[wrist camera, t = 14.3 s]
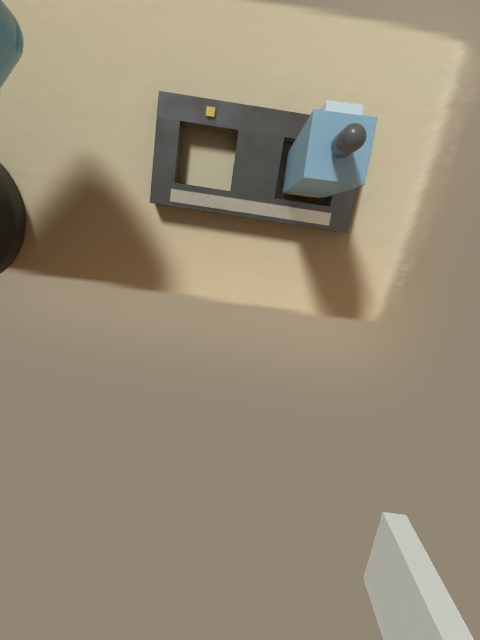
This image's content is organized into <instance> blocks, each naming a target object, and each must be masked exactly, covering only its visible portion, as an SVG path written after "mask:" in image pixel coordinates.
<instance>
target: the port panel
mask: <svg viewBox="0 0 480 640" xmlns="http://www.w3.org/2000/svg"><path fill="white" fill-rule="evenodd" d="M309 117H310V115H307V114H301V113H294V112H288V111H282V110H276V109H269V108H263V107H257V106H250V105H244V104H238V103H232V102H225V101H219V100H213V99H206V98H200V97H194V96H188V95H181V94H175V93H169V92H162V91H159V97H158V109H157V121H156V134H155V146H154V158H153V171H152V183H151V195H150V203H155V204H161V205H168V206H174V207H181V208H187V209H194V210H200V211H207V212H214V213H220V214H227V215H233V216H240V217H246V218H253V219H259V220H266V221H272V222H279V223H286V224H292V225H299V226H305V227H312V228H318V229H325V230H331V231H338V232H346V233H347V231H348V227H349V222H350V217H351V213H352V208H353V203H354V199H355V194H356V189H357V188H353V189H350V190H347V191H344V192H341V193H337V194H334V195H331V196H328V200H327V205H326V206H322V205H315V204H309V203H302V202H296V201H289V200H283V199H276V198H275V192H276V186H277V180H278V174H279V167H280V161H281V155H282V149H283V143H284V142H289V143H294V142H295V140H296V138H297V137H298V135H299V133H300V132H301V130H302V128H303V127H304V125H305V123H306V122H307V120H308V118H309ZM183 126H188V127H194V128H200V129H207V130H213V131H220V132H226V133H232V134H238V138H237V146H236V153H235V161H234V168H233V176H232V183H231V191H224V190H218V189H211V188H205V187H198V186H192V185H185V184H179V183H178V176H179V166H180V156H181V146H182V136H183Z"/></svg>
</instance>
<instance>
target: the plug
mask: <svg viewBox="0 0 480 640" xmlns="http://www.w3.org/2000/svg"><path fill="white" fill-rule="evenodd" d="M363 108H364V105H361V104H353V103H345V102H338V101H330V100H326V102H325V103H324V105H323V106H322V108H321V109H320V110H317V109H314V110H313V112H312V113H311V115H310V117H309V118H308V120H307V122H306V123H305V125H304V127H303V128H302V130H301V132H300V133H299V135H298V137H297V138H296V140H295V142H294V143H293V145H292V147H291V148H290V150H289V152H288V156H287V163H286V170H285V177H284V184H283V191H282V194H286V195H294V196H302V197H310V198H318V199H321V198H324V197H328V196H331V195H334V194H337V193H341V192H344V191H347V190H350V189H353V188H357V187H360V186H363V185H364V184H365V179H366V174H367V169H368V164H369V159H370V154H371V149H372V144H373V138H374V133H375V128H376V123H377V118H378V117H371V116H363V115H362V114H363Z"/></svg>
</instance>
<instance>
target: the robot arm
mask: <svg viewBox="0 0 480 640" xmlns="http://www.w3.org/2000/svg"><path fill="white" fill-rule="evenodd" d="M23 44H24V43H23V35H22V31H21V29H20V26H19V24H18V22H17V20H16V18H15V17H14V15H13V14H12V13H11V11H10V10H9V9H8V8H7V6H6V5H5V4H4V3H3V2H2V0H0V88H1V87H2V85H3V84H4V82H5V80H6V79H7V77H8V76H9V74H10V73H11V71H12V70H13V68H14V67H15V65H16V64H17V62H18V61H19V59H20V57H21V55H22V52H23ZM24 233H25V214H24V208H23V203H22V200H21V197H20V194H19V191H18V189H17V187H16V185H15V183H14V181H13V179H12V178H11V176H10V175H9V173H8V172H7V171H6V169H5V168H4V167H3V166H2V164H1V163H0V273H2V272H3V271H4V270H5V269H7V268H8V267H9V266H10V264H11V263H12V262H13V261H14V259H15V258H16V256H17V254H18V253H19V250H20V248H21V245H22V242H23V238H24ZM363 579H364V582H365V585H366V588H367V591H368V594H369V597H370V600H371V603H372V606H373V609H374V612H375V615H376V618H377V621H378V624H379V628H380V630H381V633H382V637H383V640H474V639H473V637H472V636H471V634H470V632H469V630H468V628H467V626H466V625H465V623H464V621H463V619H462V617H461V615H460V614H459V612H458V610H457V608H456V606H455V604H454V603H453V601H452V599H451V597H450V595H449V593H448V591H447V590H446V588H445V586H444V584H443V582H442V581H441V579H440V577H439V575H438V573H437V571H436V570H435V568H434V566H433V564H432V562H431V560H430V558H429V557H428V555H427V553H426V551H425V549H424V548H423V546H422V544H421V542H420V540H419V538H418V536H417V535H416V533H415V531H414V529H413V527H412V525H411V524H410V522H409V520H408V518H407V516H406V515H401V514H393V513H386V512H383V513H382V517H381V520H380V523H379V527H378V530H377V534H376V537H375V540H374V544H373V547H372V551H371V554H370V557H369V561H368V564H367V568H366V571H365V574H364V578H363Z"/></svg>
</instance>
